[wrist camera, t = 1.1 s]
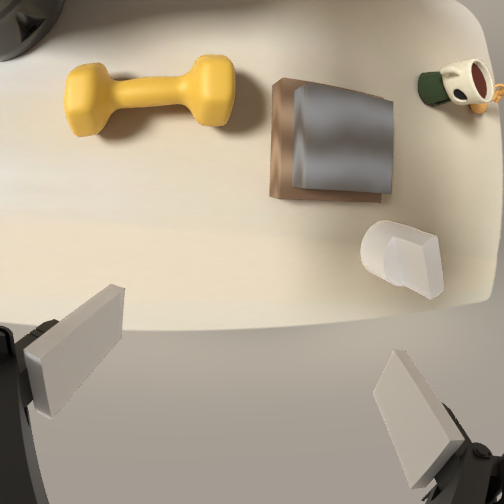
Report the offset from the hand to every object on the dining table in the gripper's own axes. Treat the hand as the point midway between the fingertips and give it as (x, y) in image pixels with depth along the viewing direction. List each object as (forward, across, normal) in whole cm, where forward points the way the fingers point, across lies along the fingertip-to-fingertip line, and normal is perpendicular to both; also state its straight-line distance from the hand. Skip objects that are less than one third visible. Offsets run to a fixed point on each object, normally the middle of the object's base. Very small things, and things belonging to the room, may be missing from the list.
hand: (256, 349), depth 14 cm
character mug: (+38, +22, +31) cm, 53 cm away
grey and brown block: (+31, +5, +14) cm, 35 cm away
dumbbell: (+25, -18, +14) cm, 34 cm away
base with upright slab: (+36, +19, +2) cm, 40 cm away
